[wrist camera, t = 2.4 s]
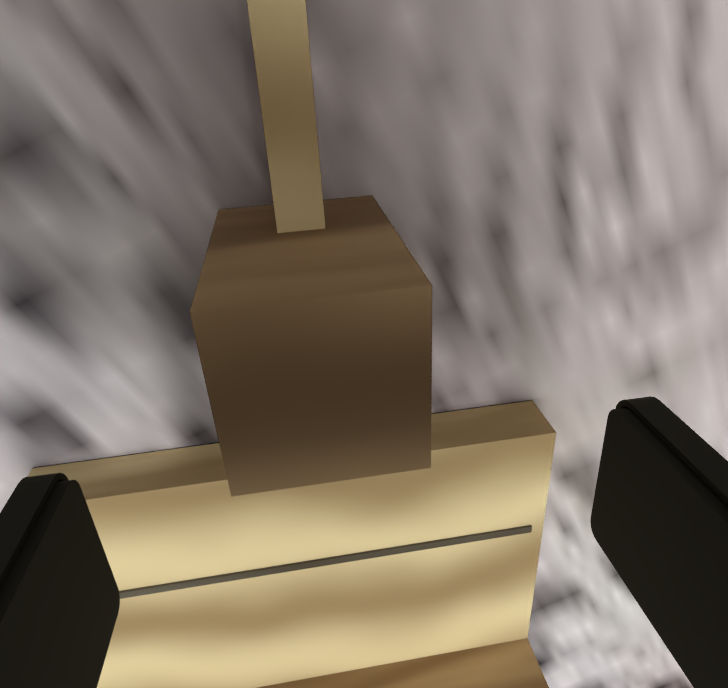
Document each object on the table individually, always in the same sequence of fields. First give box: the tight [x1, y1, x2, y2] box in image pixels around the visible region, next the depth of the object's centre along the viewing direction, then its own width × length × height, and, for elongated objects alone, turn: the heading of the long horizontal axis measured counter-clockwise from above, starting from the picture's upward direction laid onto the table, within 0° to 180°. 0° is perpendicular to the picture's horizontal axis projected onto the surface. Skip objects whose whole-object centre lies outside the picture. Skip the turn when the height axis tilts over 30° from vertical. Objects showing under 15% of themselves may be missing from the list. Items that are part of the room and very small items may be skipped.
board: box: [28, 400, 556, 688], centre depth 22 cm, size 13×18×4 cm
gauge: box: [190, 0, 432, 497], centre depth 13 cm, size 12×4×7 cm, turn 4°
